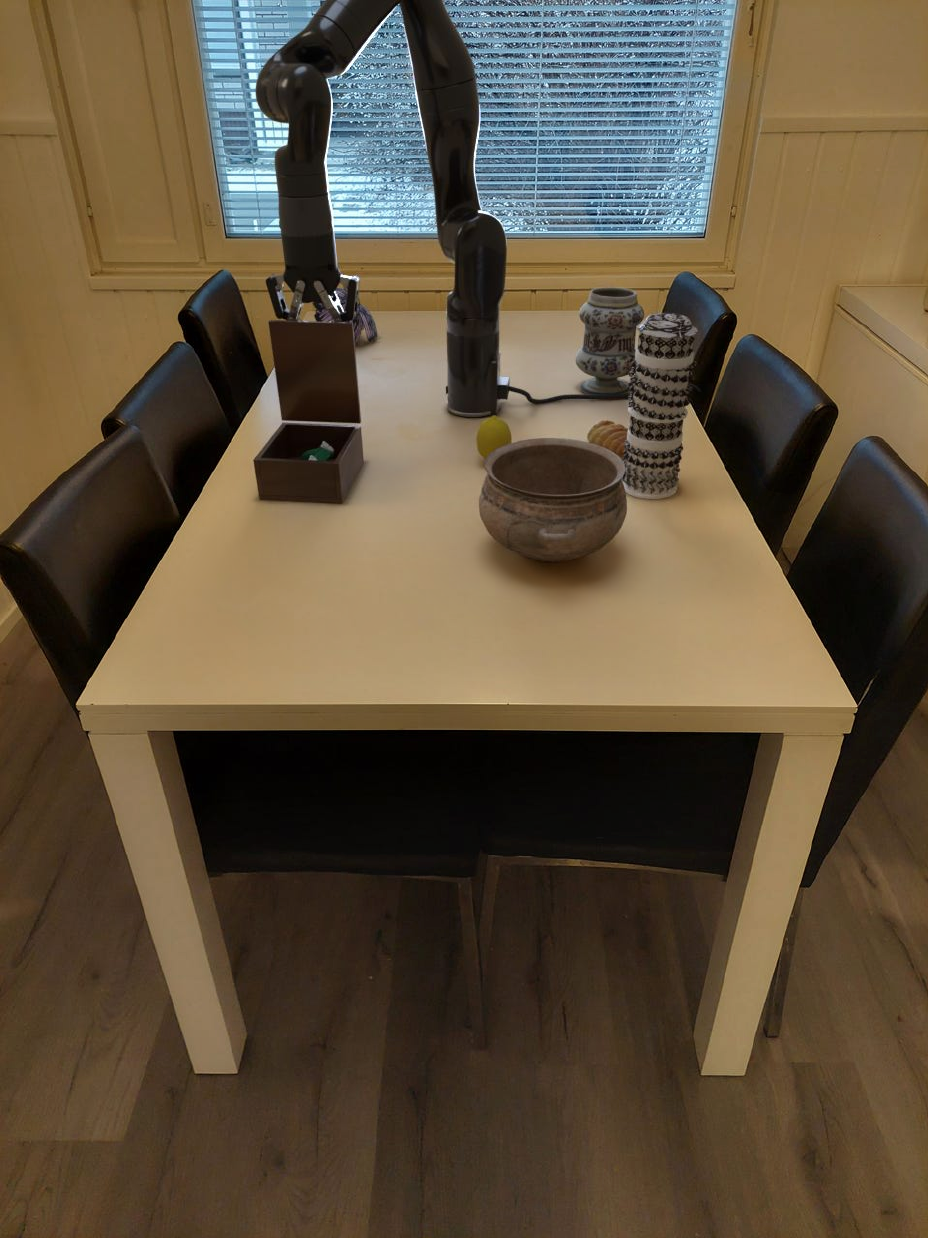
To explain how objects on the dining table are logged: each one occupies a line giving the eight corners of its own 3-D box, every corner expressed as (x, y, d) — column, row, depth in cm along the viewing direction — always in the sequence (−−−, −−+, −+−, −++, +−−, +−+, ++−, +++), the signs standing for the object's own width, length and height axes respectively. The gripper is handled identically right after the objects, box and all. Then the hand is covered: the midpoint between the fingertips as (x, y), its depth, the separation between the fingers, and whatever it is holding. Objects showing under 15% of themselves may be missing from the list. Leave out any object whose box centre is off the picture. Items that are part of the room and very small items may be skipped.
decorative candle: (666, 505, 127) (690, 330, 113) (607, 491, 131) (623, 320, 117) (688, 482, 134) (713, 314, 120) (632, 469, 138) (649, 305, 124)
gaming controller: (297, 497, 132) (321, 474, 129) (278, 479, 131) (302, 455, 128) (318, 472, 140) (342, 450, 137) (300, 455, 139) (324, 432, 136)
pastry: (648, 457, 142) (651, 434, 139) (613, 465, 139) (615, 442, 137) (615, 437, 149) (617, 415, 146) (581, 444, 146) (583, 422, 144)
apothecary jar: (635, 379, 173) (644, 283, 163) (639, 400, 163) (649, 300, 153) (573, 377, 174) (579, 282, 164) (573, 398, 164) (580, 299, 154)
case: (342, 503, 129) (338, 463, 125) (259, 499, 130) (253, 459, 126) (363, 462, 141) (361, 425, 137) (287, 459, 142) (282, 422, 138)
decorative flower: (348, 306, 182) (306, 273, 189) (330, 358, 188) (290, 324, 195) (397, 312, 193) (356, 281, 200) (379, 361, 199) (340, 329, 206)
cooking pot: (482, 506, 127) (482, 426, 121) (613, 509, 127) (621, 428, 120) (474, 599, 107) (474, 508, 100) (631, 603, 106) (642, 511, 99)
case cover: (352, 323, 128) (359, 314, 132) (268, 321, 129) (277, 311, 133) (360, 423, 137) (366, 412, 140) (281, 420, 138) (290, 409, 142)
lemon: (515, 459, 141) (516, 411, 137) (505, 473, 137) (506, 424, 133) (482, 455, 143) (482, 407, 138) (471, 468, 139) (471, 419, 134)
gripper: (362, 223, 127) (371, 340, 137) (266, 222, 128) (281, 338, 138) (351, 234, 121) (360, 356, 131) (249, 233, 122) (266, 353, 132)
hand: (319, 346), depth 134 cm, fingers closed on case cover, 5 cm apart
